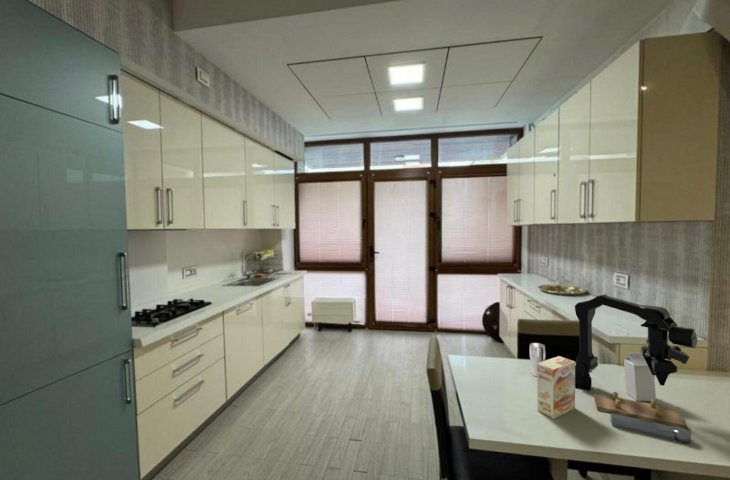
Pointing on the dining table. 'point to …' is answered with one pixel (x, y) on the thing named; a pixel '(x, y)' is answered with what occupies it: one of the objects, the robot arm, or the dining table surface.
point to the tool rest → (639, 410)
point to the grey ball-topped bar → (651, 428)
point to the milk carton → (639, 378)
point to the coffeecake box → (556, 386)
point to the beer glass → (536, 356)
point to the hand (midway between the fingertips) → (657, 380)
